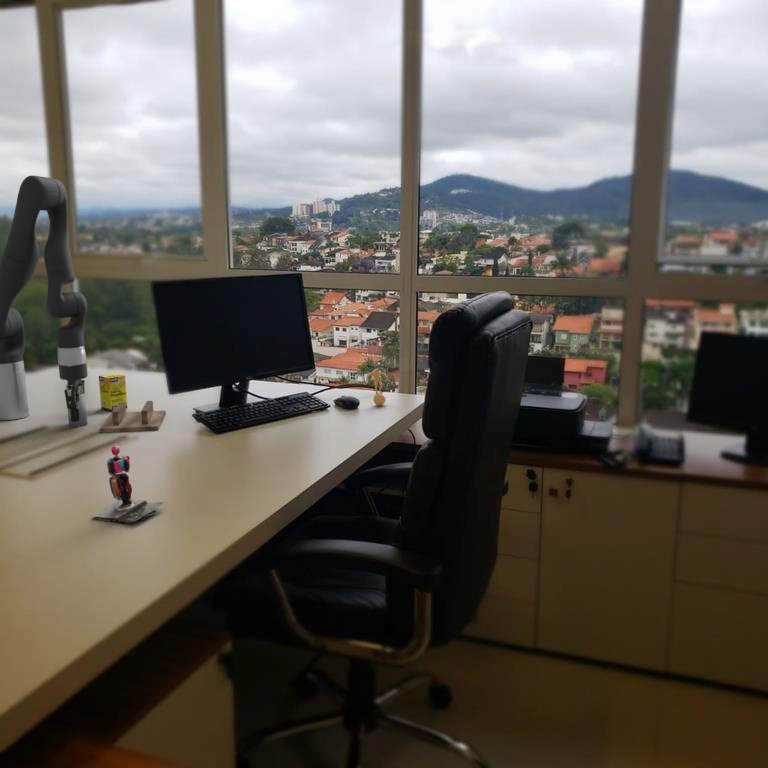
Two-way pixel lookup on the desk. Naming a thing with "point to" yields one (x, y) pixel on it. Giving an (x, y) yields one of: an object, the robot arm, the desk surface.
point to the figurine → (379, 397)
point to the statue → (123, 494)
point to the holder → (133, 419)
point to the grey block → (81, 413)
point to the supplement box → (112, 391)
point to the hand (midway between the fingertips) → (77, 418)
